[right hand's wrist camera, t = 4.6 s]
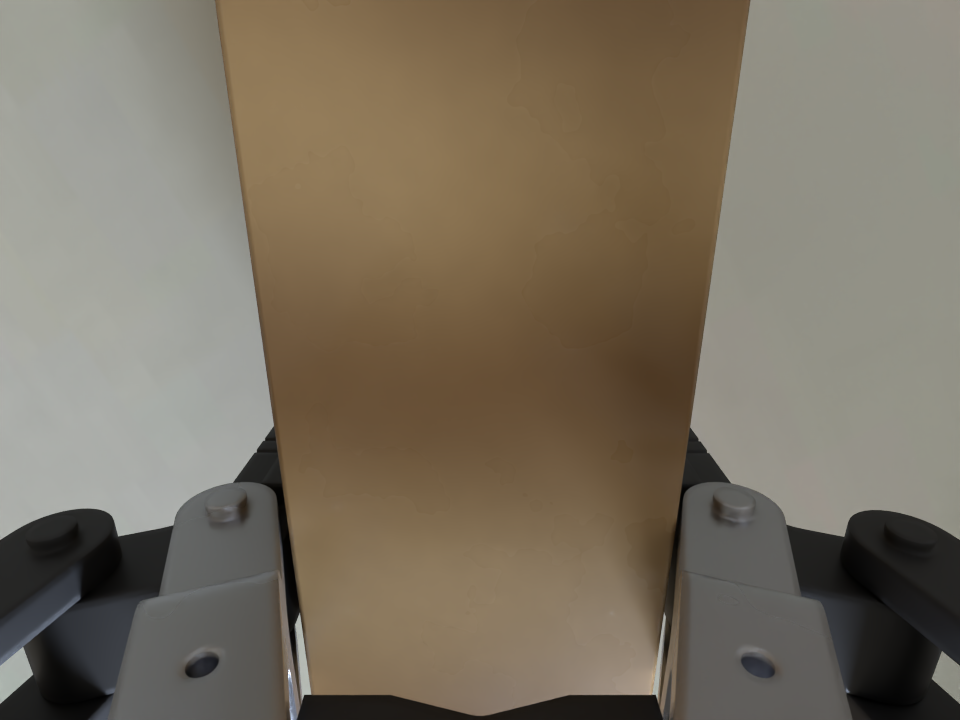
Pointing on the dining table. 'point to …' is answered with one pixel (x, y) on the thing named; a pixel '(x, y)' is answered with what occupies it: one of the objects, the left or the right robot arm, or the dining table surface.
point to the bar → (482, 324)
